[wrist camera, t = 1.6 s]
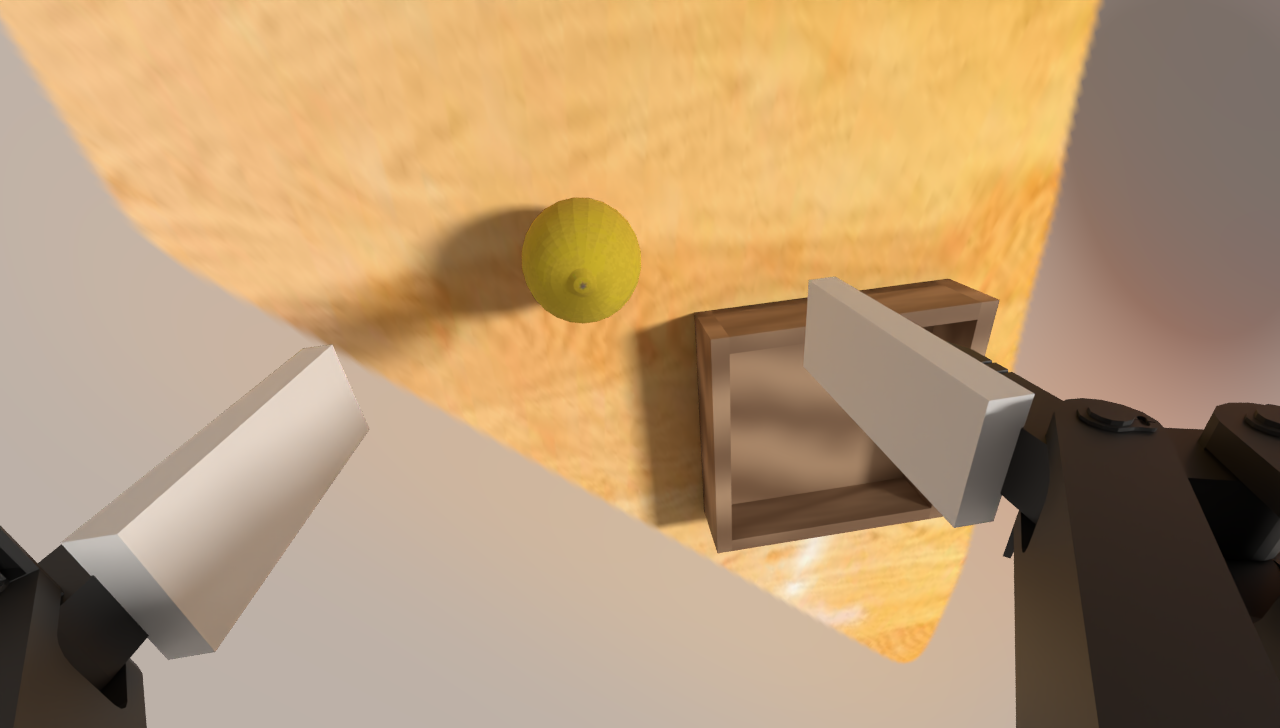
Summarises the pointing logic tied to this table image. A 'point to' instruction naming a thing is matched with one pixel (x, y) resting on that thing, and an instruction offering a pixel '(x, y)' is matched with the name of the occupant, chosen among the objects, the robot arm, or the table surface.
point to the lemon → (581, 260)
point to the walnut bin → (805, 422)
